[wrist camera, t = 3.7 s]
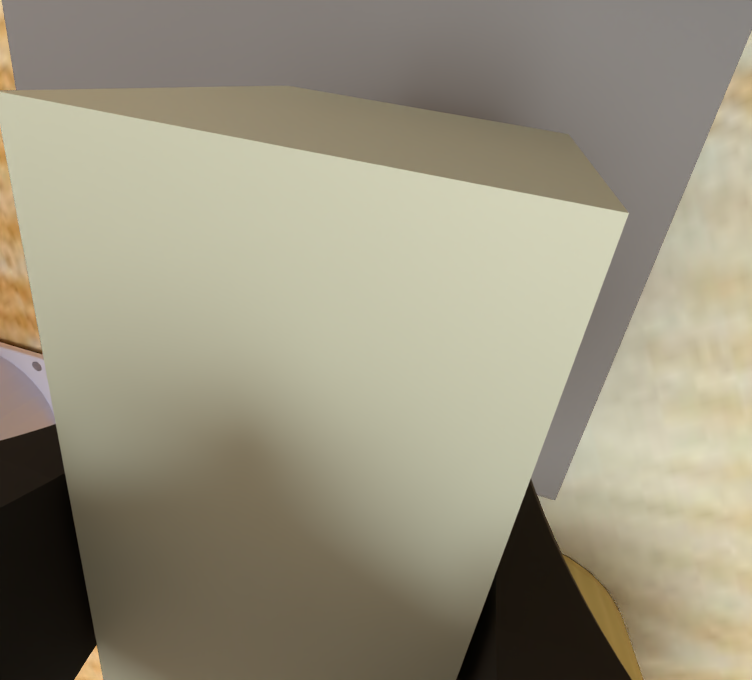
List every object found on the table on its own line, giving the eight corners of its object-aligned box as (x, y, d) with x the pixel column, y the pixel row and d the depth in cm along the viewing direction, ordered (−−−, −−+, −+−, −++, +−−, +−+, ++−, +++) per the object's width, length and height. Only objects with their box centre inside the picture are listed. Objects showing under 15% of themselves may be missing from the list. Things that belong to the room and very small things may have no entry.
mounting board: (78, 343, 25) (58, 355, 24) (8, -165, 16) (-28, -182, 15) (553, 479, 21) (554, 500, 20) (781, -82, 13) (803, -97, 12)
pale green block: (262, 543, 15) (122, 786, 10) (286, 85, 9) (-7, 89, 4) (431, 598, 14) (376, 893, 9) (568, 134, 9) (628, 213, 3)
